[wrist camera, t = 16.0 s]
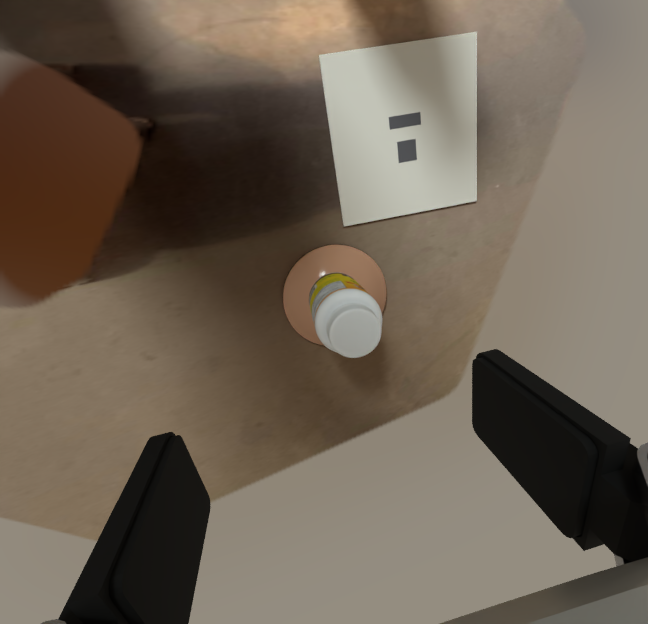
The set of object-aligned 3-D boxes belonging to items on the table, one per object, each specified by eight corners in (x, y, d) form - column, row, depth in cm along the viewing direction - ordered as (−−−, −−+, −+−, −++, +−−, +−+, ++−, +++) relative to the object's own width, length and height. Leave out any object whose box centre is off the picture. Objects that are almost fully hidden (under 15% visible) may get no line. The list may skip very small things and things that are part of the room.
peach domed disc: (272, 255, 31) (272, 256, 30) (379, 235, 31) (380, 235, 31) (294, 353, 34) (295, 355, 34) (389, 332, 35) (391, 334, 35)
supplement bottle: (368, 307, 33) (403, 348, 23) (322, 330, 33) (337, 380, 24) (348, 261, 31) (376, 284, 22) (298, 285, 31) (304, 319, 22)
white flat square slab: (318, 56, 26) (319, 54, 26) (475, 32, 27) (476, 31, 27) (343, 226, 31) (343, 226, 30) (475, 201, 32) (476, 201, 31)
